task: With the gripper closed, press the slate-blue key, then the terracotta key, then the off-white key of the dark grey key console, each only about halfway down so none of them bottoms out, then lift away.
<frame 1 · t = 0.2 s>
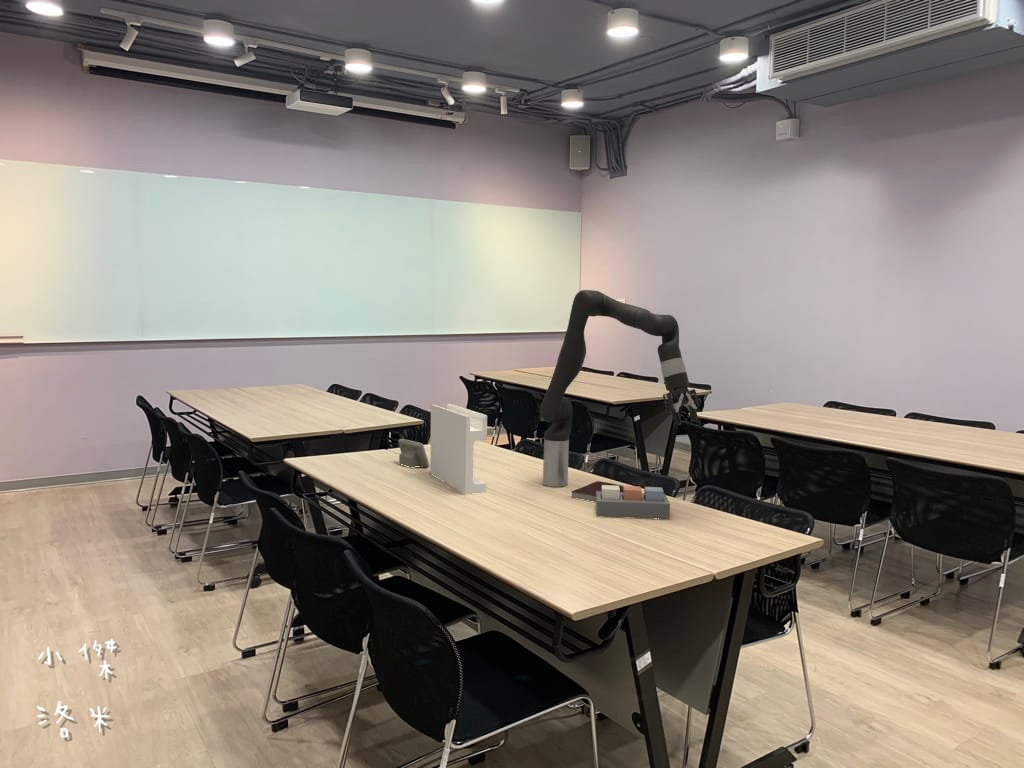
hand: (686, 423, 234), 30 cm above the table, tool tilted 20°, fingers open, 8 cm apart
block: (456, 483, 277), on the table
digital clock: (413, 466, 306), on the table
key terracotta: (632, 494, 240), point 6 cm above the table, slide at 0.0 cm
key blue: (653, 495, 239), point 6 cm above the table, slide at 0.0 cm
book: (598, 497, 262), on the table
key white: (610, 494, 240), point 6 cm above the table, slide at 0.0 cm
console: (631, 512, 240), on the table
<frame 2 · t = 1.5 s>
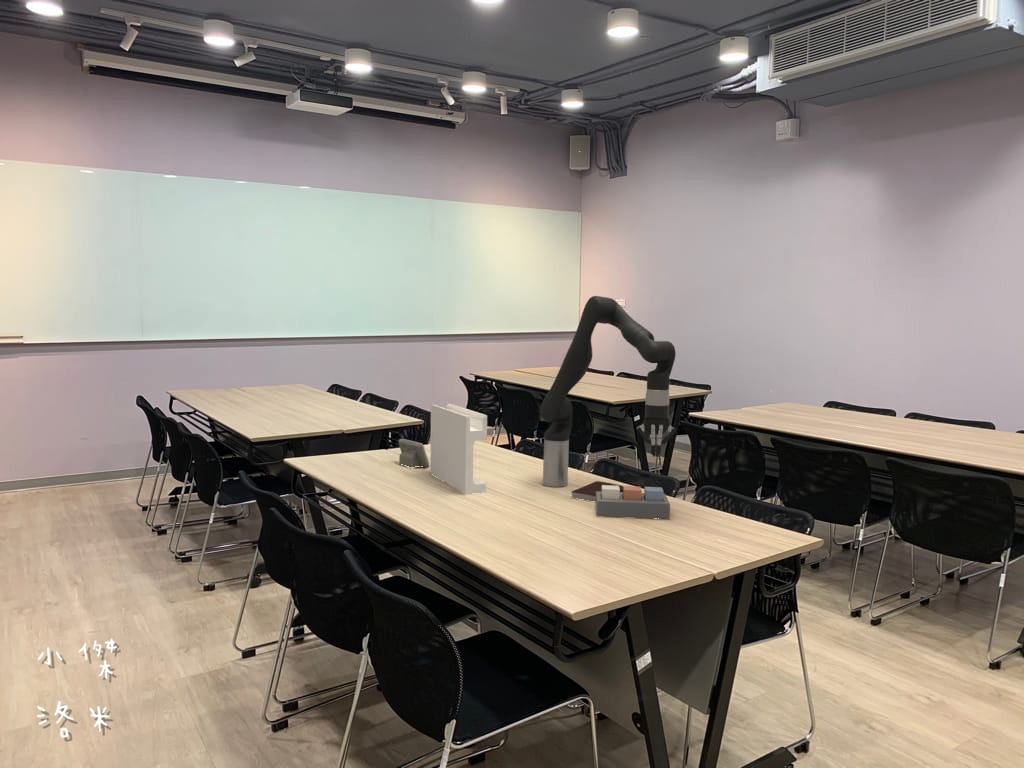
hand: (655, 456, 238), 19 cm above the table, tool pointing down, fingers closed
nothing on the table moved.
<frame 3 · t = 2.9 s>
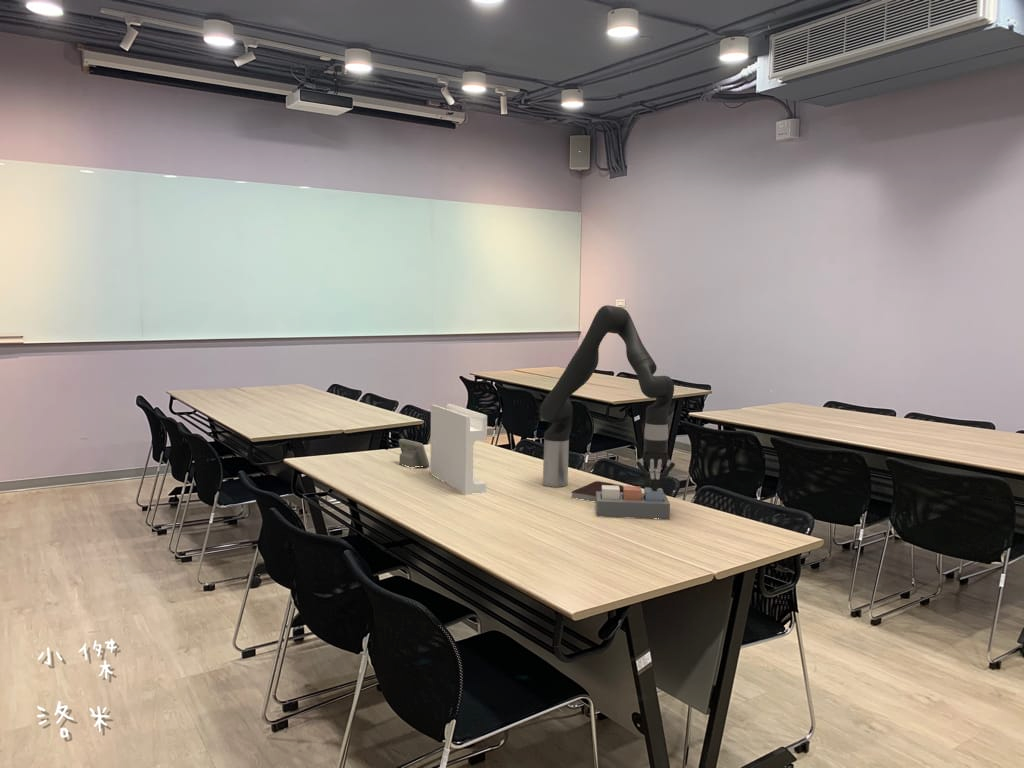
hand: (654, 489, 239), 8 cm above the table, tool pointing down, fingers closed
key blue: (653, 496, 239), point 6 cm above the table, slide at 0.3 cm, touching gripper
everything else where it was.
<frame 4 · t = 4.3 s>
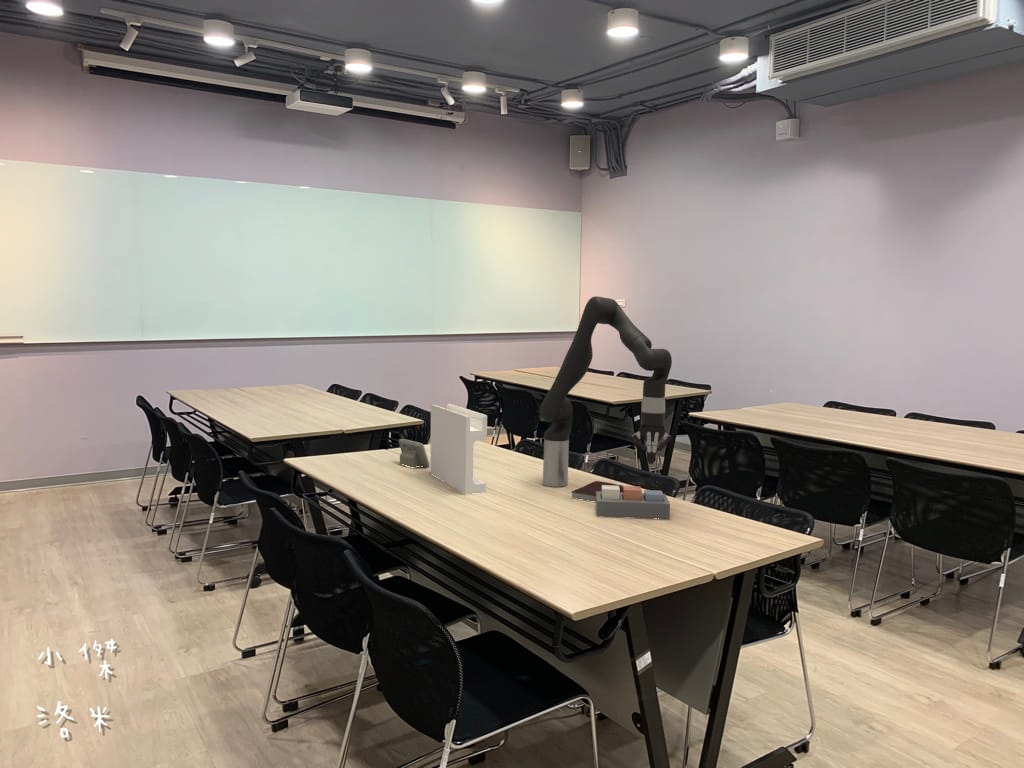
hand: (650, 463, 238), 17 cm above the table, tool pointing down, fingers closed
key blue: (653, 499, 239), point 5 cm above the table, slide at 1.1 cm
everything else where it was.
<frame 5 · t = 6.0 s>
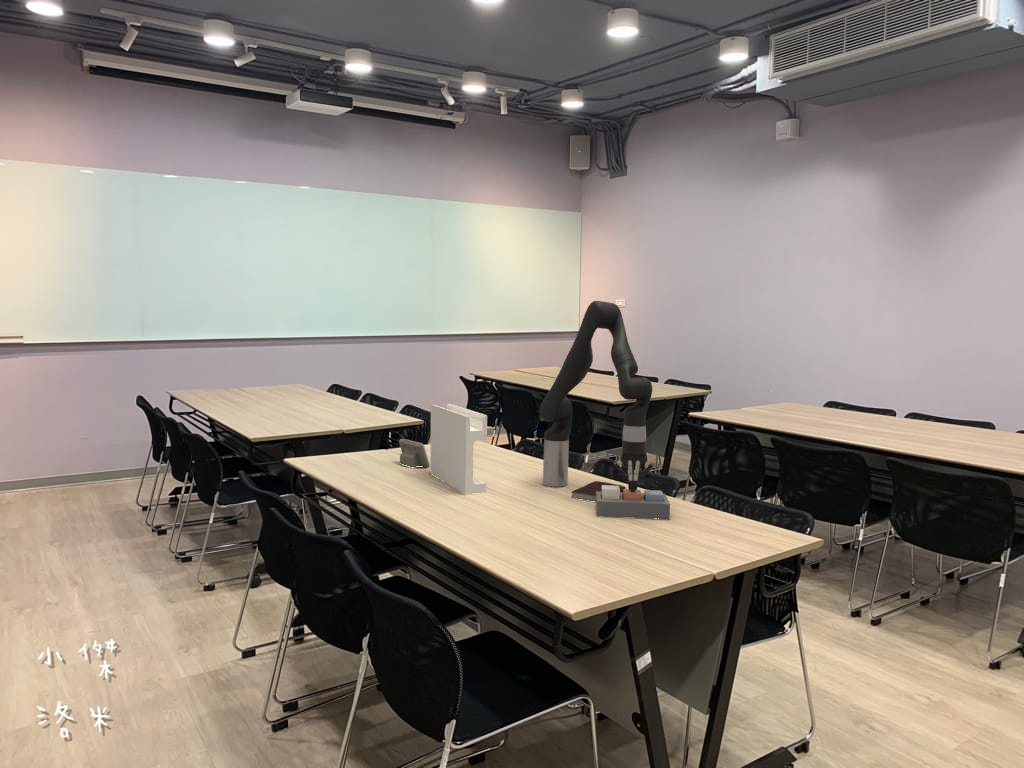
hand: (632, 491, 240), 7 cm above the table, tool pointing down, fingers closed
key terracotta: (631, 497, 240), point 5 cm above the table, slide at 1.0 cm, touching gripper
everything else where it was.
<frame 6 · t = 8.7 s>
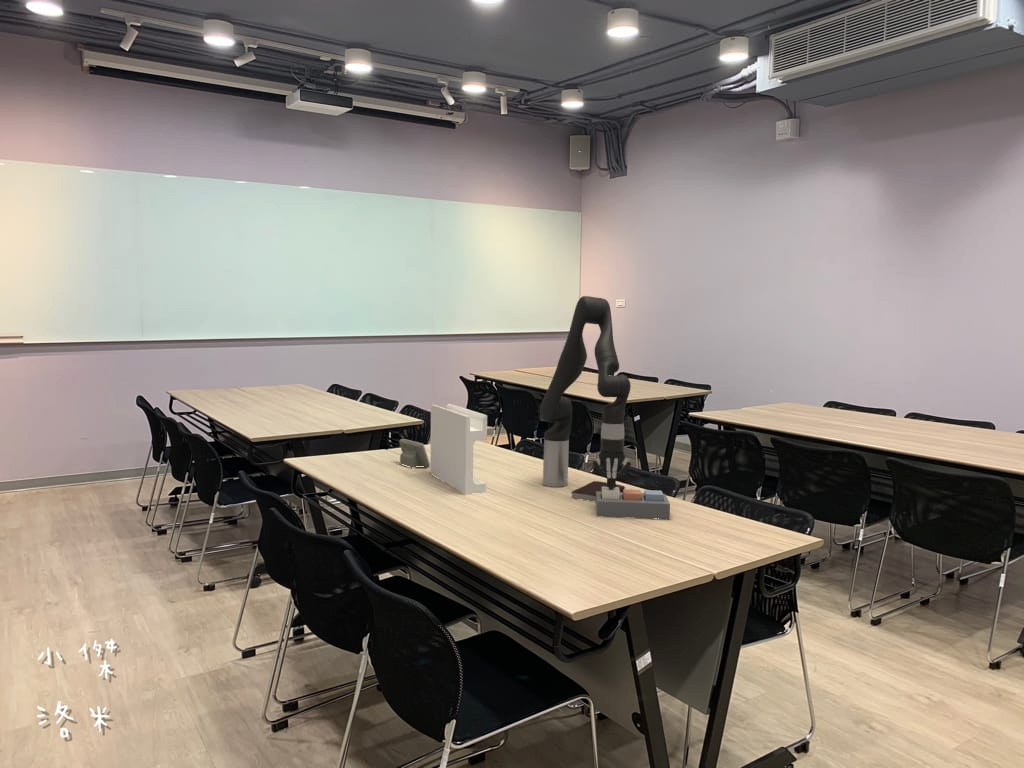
hand: (611, 488, 240), 8 cm above the table, tool pointing down, fingers closed
key terracotta: (631, 498, 240), point 5 cm above the table, slide at 1.1 cm
key white: (610, 495, 240), point 5 cm above the table, slide at 0.5 cm, touching gripper
everything else where it was.
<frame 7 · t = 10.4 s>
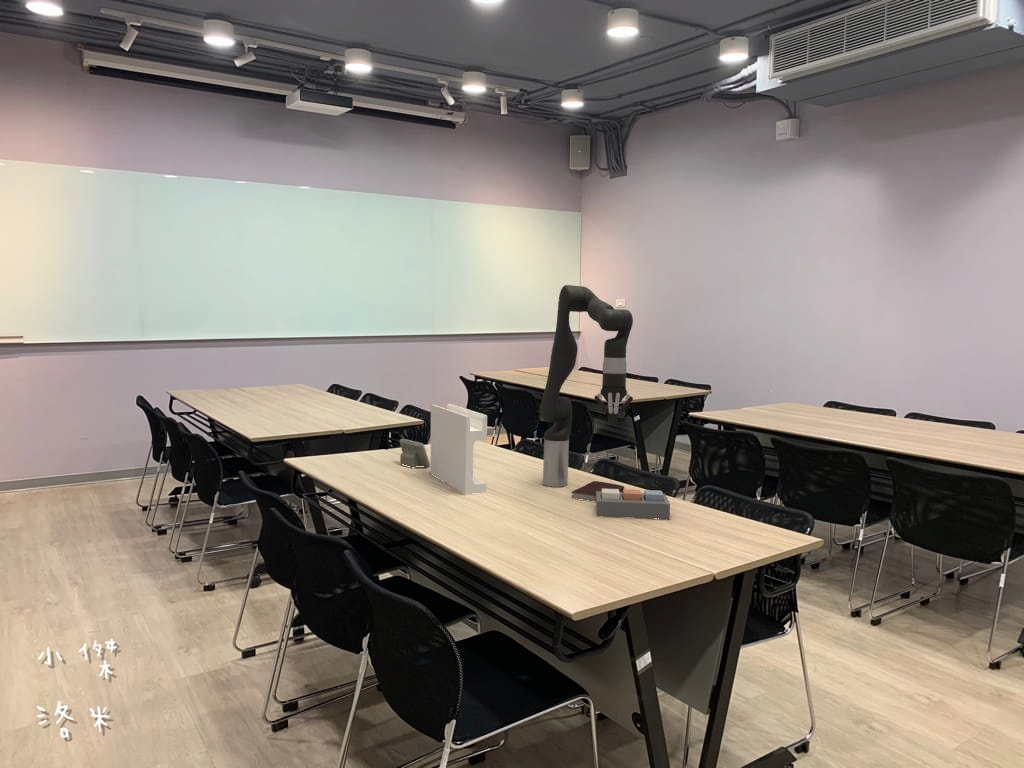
hand: (612, 424, 238), 29 cm above the table, tool pointing down, fingers closed
key white: (610, 497, 240), point 5 cm above the table, slide at 1.2 cm
everything else where it was.
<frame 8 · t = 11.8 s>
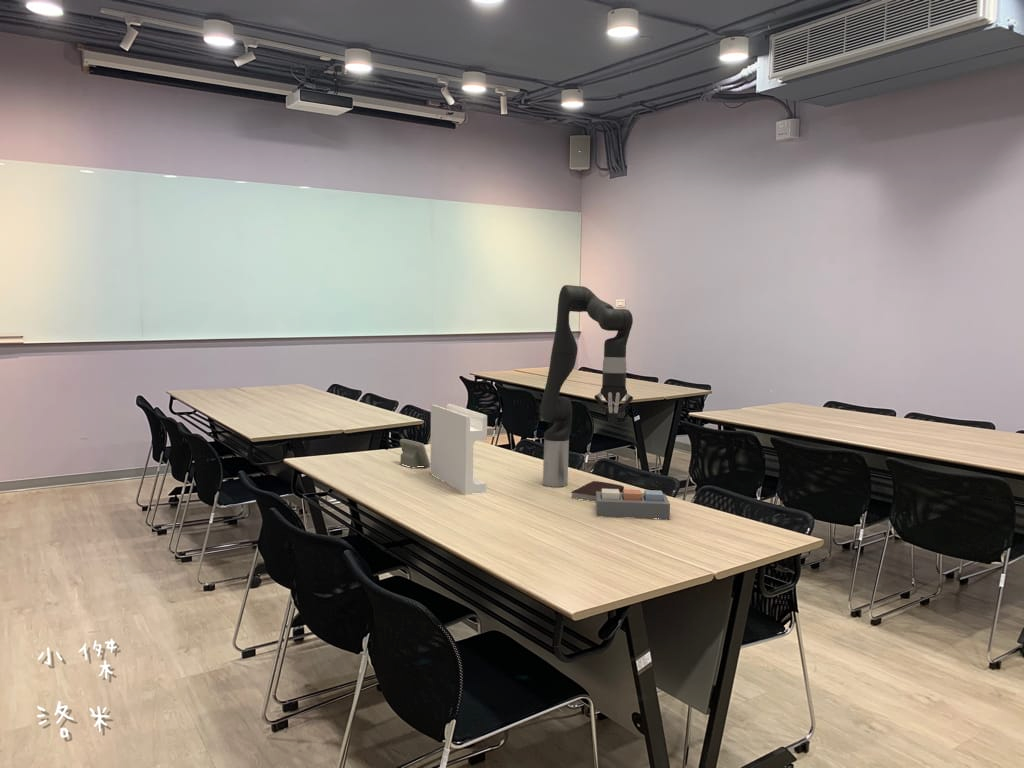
hand: (612, 424, 238), 29 cm above the table, tool pointing down, fingers closed
nothing on the table moved.
at the end: key blue slide at 1.1 cm; key terracotta slide at 1.1 cm; key white slide at 1.2 cm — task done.
